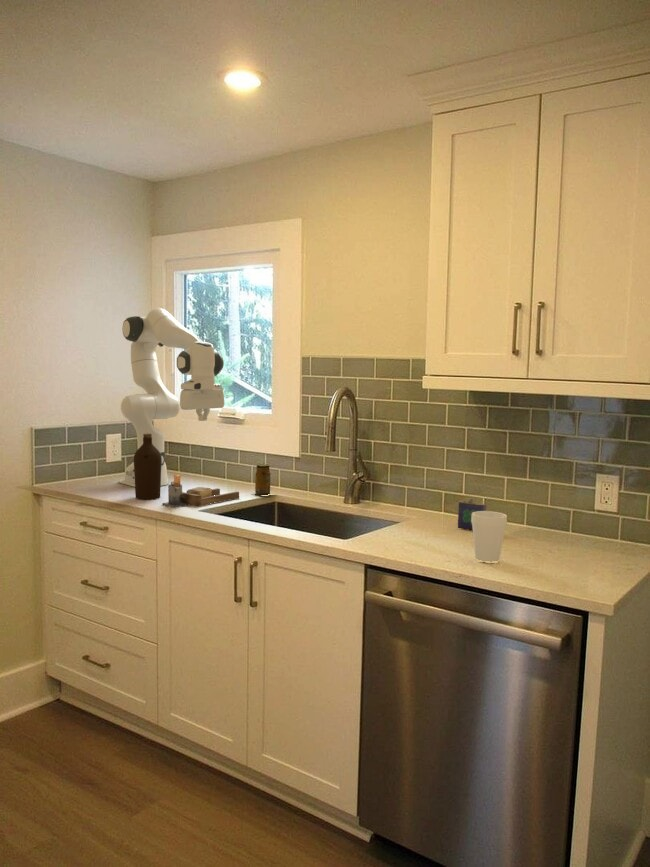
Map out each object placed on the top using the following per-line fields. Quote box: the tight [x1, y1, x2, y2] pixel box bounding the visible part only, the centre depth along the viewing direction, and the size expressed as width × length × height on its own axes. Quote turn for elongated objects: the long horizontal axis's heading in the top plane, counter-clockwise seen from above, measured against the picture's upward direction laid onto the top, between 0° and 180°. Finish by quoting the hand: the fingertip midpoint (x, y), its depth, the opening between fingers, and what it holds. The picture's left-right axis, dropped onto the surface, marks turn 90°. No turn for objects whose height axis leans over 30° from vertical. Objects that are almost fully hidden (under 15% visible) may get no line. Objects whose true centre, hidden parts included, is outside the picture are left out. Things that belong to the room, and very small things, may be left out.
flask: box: [457, 497, 487, 531], centre depth 237 cm, size 9×3×11 cm, turn 59°
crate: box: [186, 486, 213, 498], centre depth 276 cm, size 6×8×5 cm
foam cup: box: [471, 510, 508, 562], centre depth 200 cm, size 10×9×13 cm
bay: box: [182, 488, 240, 507], centre depth 280 cm, size 12×22×4 cm, turn 143°
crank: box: [170, 474, 181, 489], centre depth 264 cm, size 12×3×5 cm, turn 16°
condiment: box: [250, 463, 271, 496], centre depth 293 cm, size 7×8×12 cm
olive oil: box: [133, 434, 162, 501], centre depth 282 cm, size 11×11×25 cm
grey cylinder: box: [162, 483, 189, 508], centre depth 269 cm, size 7×7×8 cm
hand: (202, 420), depth 277 cm, fingers closed
